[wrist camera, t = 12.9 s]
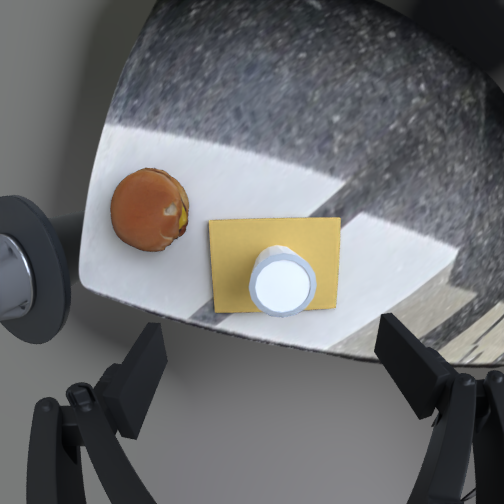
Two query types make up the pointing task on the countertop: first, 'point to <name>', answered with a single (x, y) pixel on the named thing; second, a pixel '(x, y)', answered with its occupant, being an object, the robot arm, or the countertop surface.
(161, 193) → the burger
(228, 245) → the cloth
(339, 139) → the countertop surface
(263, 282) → the shot glass
